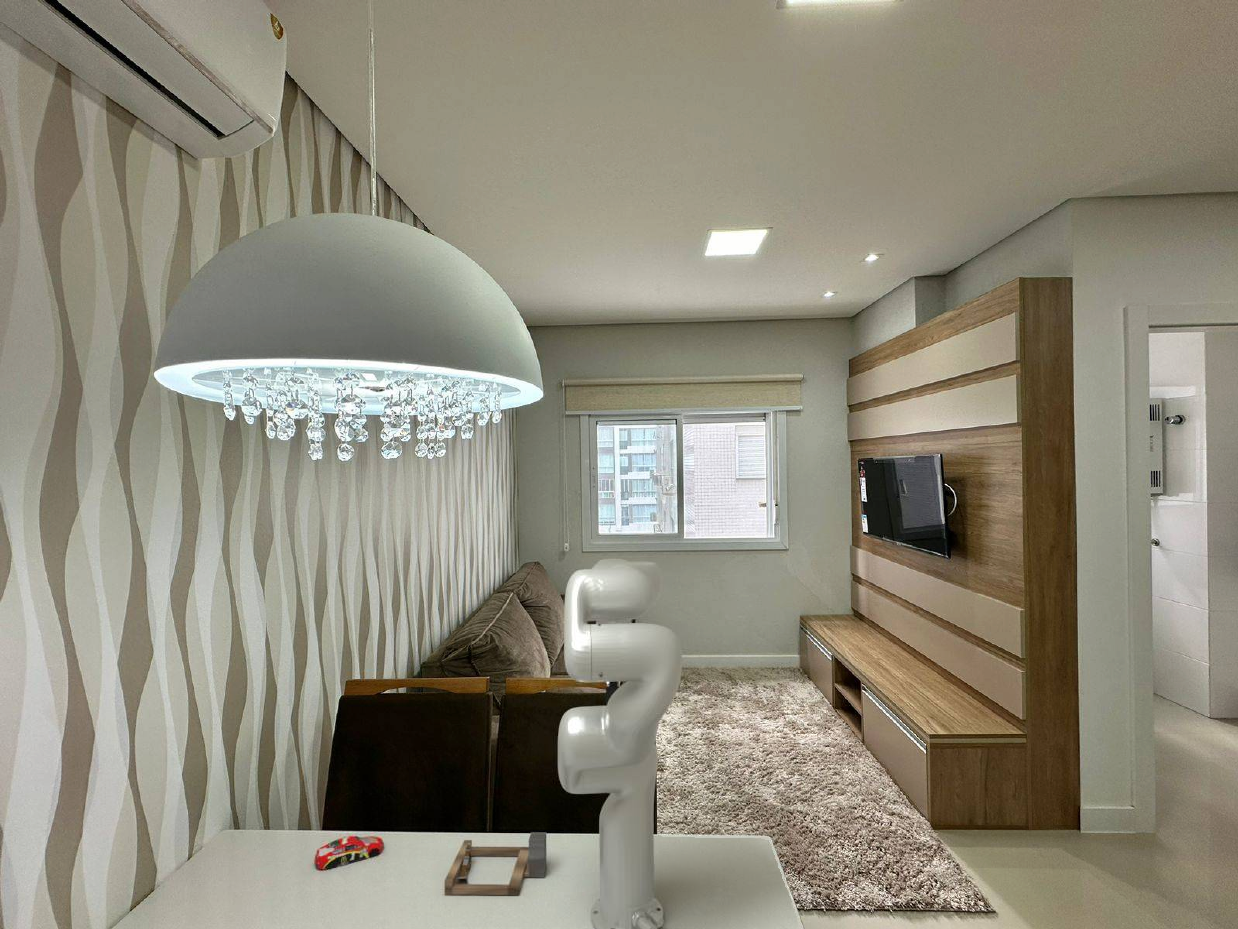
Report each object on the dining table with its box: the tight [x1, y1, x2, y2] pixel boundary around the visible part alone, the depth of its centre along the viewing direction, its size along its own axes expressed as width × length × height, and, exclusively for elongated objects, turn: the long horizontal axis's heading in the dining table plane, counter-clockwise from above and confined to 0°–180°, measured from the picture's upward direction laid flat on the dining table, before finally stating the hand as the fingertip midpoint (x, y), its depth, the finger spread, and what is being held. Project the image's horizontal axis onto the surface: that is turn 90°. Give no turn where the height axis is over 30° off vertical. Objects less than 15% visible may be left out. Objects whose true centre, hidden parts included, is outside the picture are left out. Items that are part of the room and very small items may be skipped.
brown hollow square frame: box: [444, 831, 547, 896], centre depth 132 cm, size 14×18×7 cm
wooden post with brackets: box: [457, 843, 473, 884], centre depth 133 cm, size 2×8×4 cm, turn 2°
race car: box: [314, 835, 385, 870], centre depth 139 cm, size 13×5×4 cm, turn 120°
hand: (614, 698), depth 144 cm, fingers open, 9 cm apart
